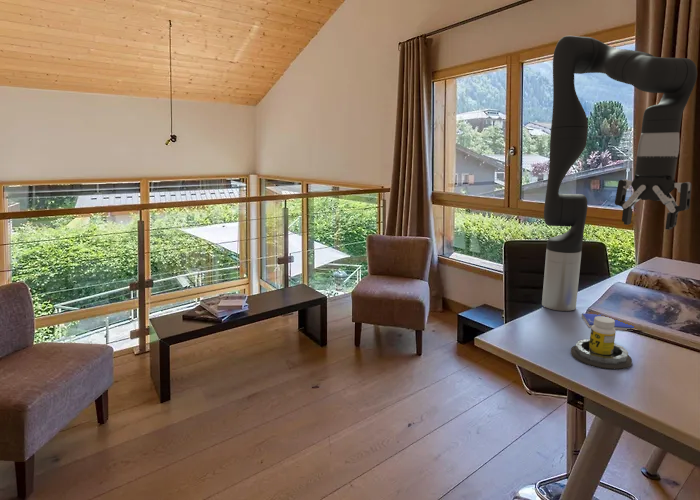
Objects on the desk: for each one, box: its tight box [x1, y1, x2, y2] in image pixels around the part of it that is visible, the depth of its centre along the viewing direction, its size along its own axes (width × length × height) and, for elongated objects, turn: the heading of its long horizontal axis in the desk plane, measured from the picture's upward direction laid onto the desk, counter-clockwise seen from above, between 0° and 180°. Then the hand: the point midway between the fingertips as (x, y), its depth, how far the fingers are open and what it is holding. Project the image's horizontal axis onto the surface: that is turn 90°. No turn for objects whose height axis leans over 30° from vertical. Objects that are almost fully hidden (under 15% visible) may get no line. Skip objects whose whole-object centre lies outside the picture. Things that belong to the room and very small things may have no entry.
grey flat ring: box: [570, 338, 633, 371], centre depth 101 cm, size 12×12×2 cm
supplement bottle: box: [589, 316, 617, 357], centre depth 100 cm, size 5×5×8 cm
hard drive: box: [581, 313, 634, 331], centre depth 120 cm, size 2×8×12 cm
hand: (647, 226), depth 103 cm, fingers open, 8 cm apart
